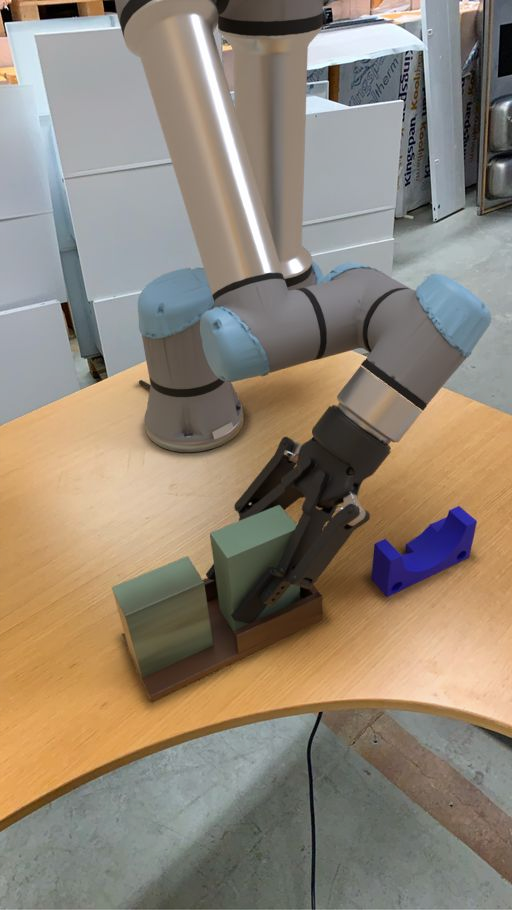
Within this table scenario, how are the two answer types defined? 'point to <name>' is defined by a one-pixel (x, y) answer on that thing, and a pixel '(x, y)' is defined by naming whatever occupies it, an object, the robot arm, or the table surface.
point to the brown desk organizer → (194, 626)
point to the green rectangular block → (250, 559)
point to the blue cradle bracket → (424, 553)
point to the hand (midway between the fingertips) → (228, 598)
